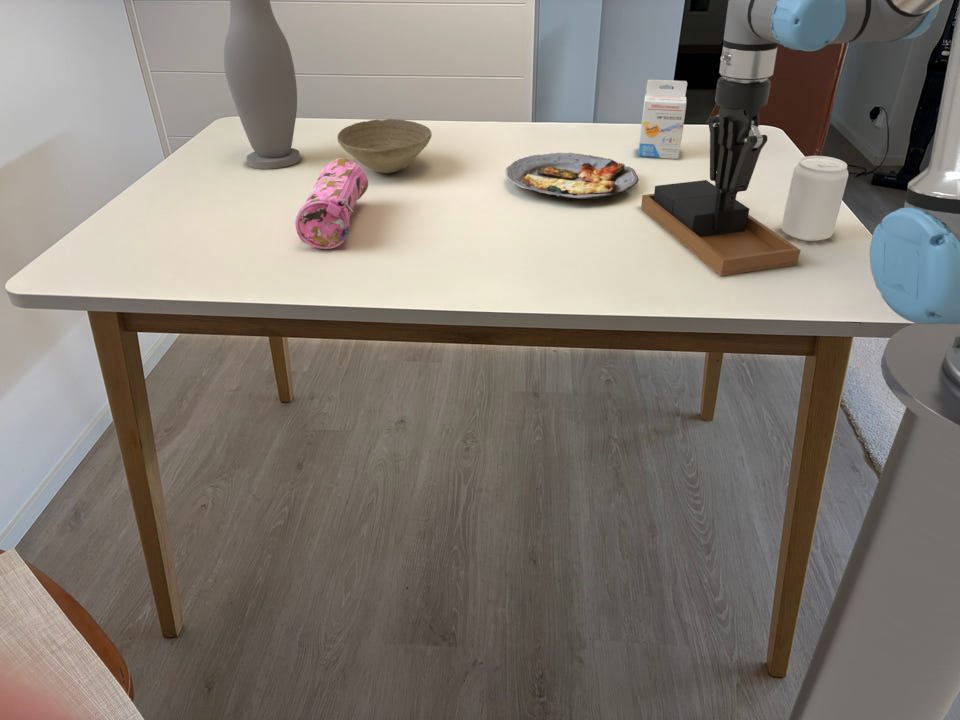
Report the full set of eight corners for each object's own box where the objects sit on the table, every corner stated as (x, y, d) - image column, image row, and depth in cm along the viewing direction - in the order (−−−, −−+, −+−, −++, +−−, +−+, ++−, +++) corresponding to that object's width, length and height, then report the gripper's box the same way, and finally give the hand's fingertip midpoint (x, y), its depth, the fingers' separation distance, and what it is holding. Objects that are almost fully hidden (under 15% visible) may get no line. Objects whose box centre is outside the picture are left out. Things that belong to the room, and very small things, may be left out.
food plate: (651, 175, 150) (653, 157, 148) (613, 216, 133) (615, 197, 131) (536, 157, 159) (536, 140, 157) (486, 193, 142) (486, 175, 140)
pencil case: (354, 252, 122) (348, 200, 117) (296, 252, 122) (288, 200, 117) (371, 202, 139) (367, 155, 134) (322, 202, 140) (315, 155, 135)
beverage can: (774, 223, 129) (789, 154, 122) (822, 223, 129) (839, 154, 122) (788, 243, 122) (805, 171, 116) (839, 243, 122) (858, 171, 115)
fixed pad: (723, 215, 131) (726, 193, 129) (670, 222, 129) (673, 199, 126) (702, 201, 136) (706, 179, 134) (652, 207, 134) (654, 185, 132)
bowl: (415, 190, 144) (412, 149, 140) (326, 182, 148) (321, 142, 144) (444, 159, 159) (442, 121, 154) (363, 153, 163) (359, 116, 159)
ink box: (637, 157, 159) (645, 84, 151) (638, 149, 163) (646, 79, 155) (679, 159, 157) (689, 86, 149) (678, 152, 161) (688, 80, 153)
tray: (797, 265, 116) (800, 249, 114) (720, 276, 113) (723, 260, 112) (706, 200, 138) (708, 187, 137) (640, 208, 135) (642, 194, 134)
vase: (247, 175, 152) (211, -17, 133) (237, 156, 162) (203, -25, 143) (312, 166, 156) (286, -22, 137) (298, 148, 166) (273, -29, 147)
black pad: (745, 231, 125) (749, 208, 123) (690, 238, 123) (694, 215, 121) (723, 215, 131) (727, 193, 129) (670, 222, 129) (673, 199, 126)
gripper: (700, 71, 115) (681, 217, 127) (745, 88, 104) (720, 246, 117) (743, 67, 116) (721, 212, 129) (793, 84, 106) (763, 240, 119)
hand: (720, 228), depth 123 cm, fingers closed
